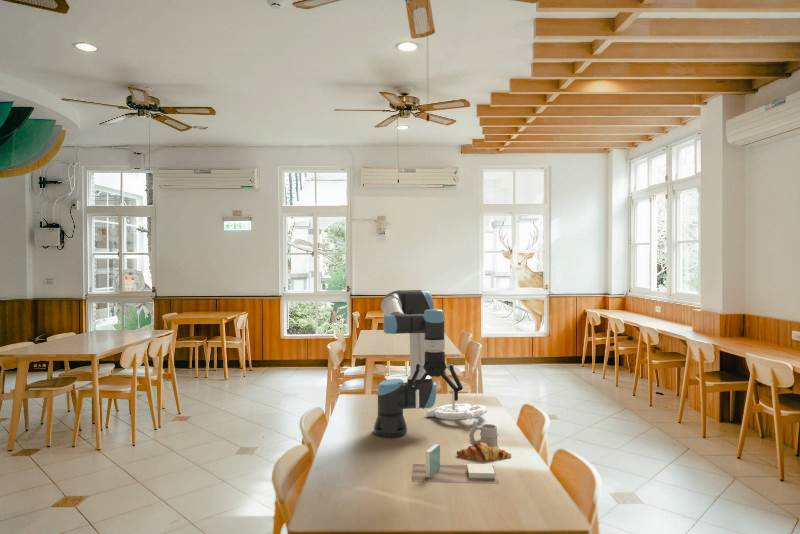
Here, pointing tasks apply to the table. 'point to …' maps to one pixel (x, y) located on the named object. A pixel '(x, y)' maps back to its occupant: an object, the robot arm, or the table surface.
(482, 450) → the croissant
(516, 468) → the table surface
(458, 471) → the board
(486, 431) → the mug
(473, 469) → the tile
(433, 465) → the tile
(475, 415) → the white flat coiled piece
